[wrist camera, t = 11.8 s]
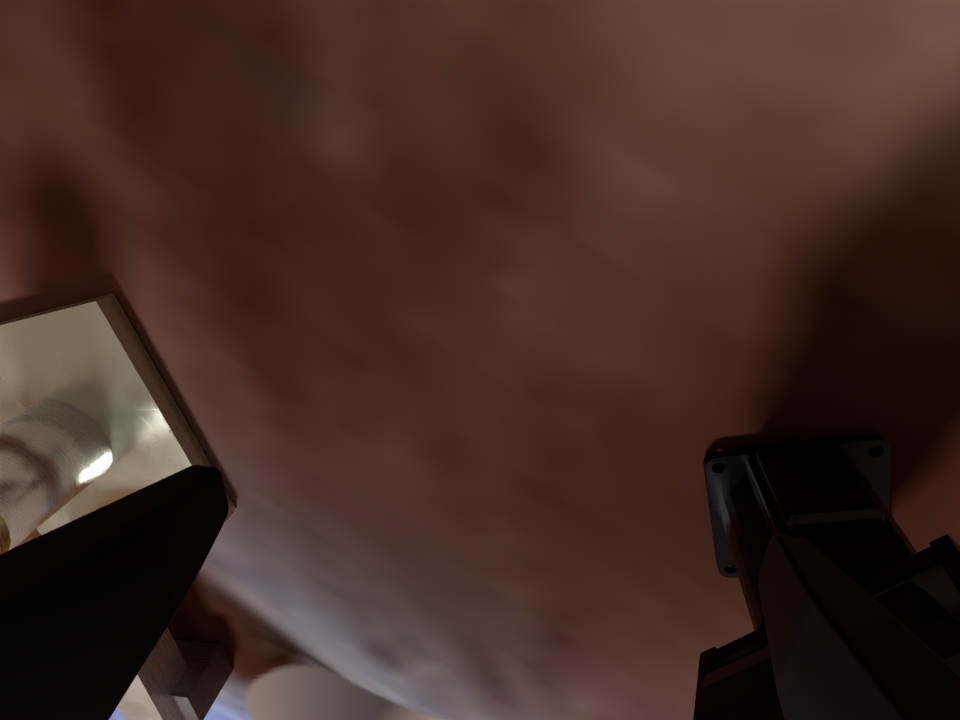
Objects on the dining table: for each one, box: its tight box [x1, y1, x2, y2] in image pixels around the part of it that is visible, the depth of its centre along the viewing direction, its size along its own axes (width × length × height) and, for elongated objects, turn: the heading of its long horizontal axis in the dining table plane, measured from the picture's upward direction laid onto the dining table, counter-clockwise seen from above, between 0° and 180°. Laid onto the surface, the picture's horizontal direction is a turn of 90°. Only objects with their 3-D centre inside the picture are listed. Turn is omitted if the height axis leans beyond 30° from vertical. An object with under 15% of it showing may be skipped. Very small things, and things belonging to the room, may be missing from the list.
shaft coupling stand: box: [0, 293, 236, 720], centre depth 30 cm, size 24×24×5 cm
